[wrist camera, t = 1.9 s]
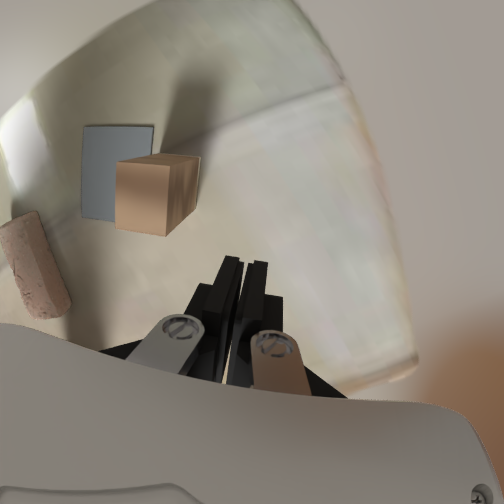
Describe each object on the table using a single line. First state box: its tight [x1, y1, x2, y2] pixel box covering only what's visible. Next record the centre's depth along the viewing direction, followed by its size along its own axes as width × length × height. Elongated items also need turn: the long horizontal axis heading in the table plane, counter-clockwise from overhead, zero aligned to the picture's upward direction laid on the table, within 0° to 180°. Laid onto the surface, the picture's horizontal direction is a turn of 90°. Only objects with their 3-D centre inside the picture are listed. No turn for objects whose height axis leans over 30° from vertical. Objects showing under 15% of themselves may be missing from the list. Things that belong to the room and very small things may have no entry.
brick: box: [0, 211, 72, 320], centre depth 37 cm, size 17×8×5 cm, turn 12°
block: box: [115, 153, 201, 237], centre depth 28 cm, size 6×5×10 cm
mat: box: [81, 127, 154, 222], centre depth 33 cm, size 12×10×1 cm
